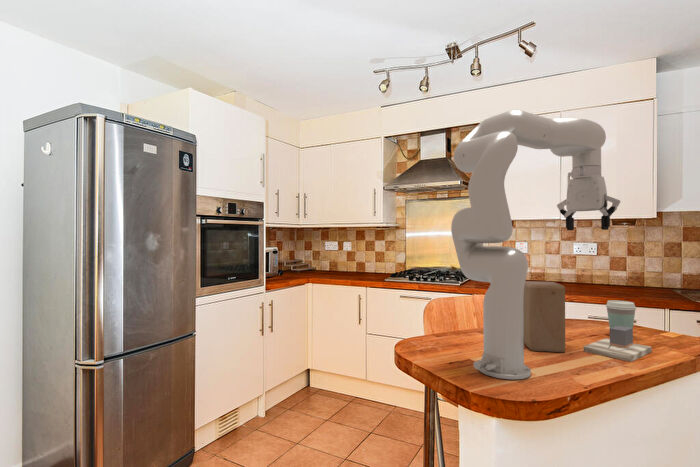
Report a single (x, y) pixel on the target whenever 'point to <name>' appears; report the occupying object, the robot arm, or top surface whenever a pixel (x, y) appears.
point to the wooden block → (544, 316)
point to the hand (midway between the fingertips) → (587, 229)
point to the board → (617, 350)
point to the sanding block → (621, 336)
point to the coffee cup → (620, 313)
